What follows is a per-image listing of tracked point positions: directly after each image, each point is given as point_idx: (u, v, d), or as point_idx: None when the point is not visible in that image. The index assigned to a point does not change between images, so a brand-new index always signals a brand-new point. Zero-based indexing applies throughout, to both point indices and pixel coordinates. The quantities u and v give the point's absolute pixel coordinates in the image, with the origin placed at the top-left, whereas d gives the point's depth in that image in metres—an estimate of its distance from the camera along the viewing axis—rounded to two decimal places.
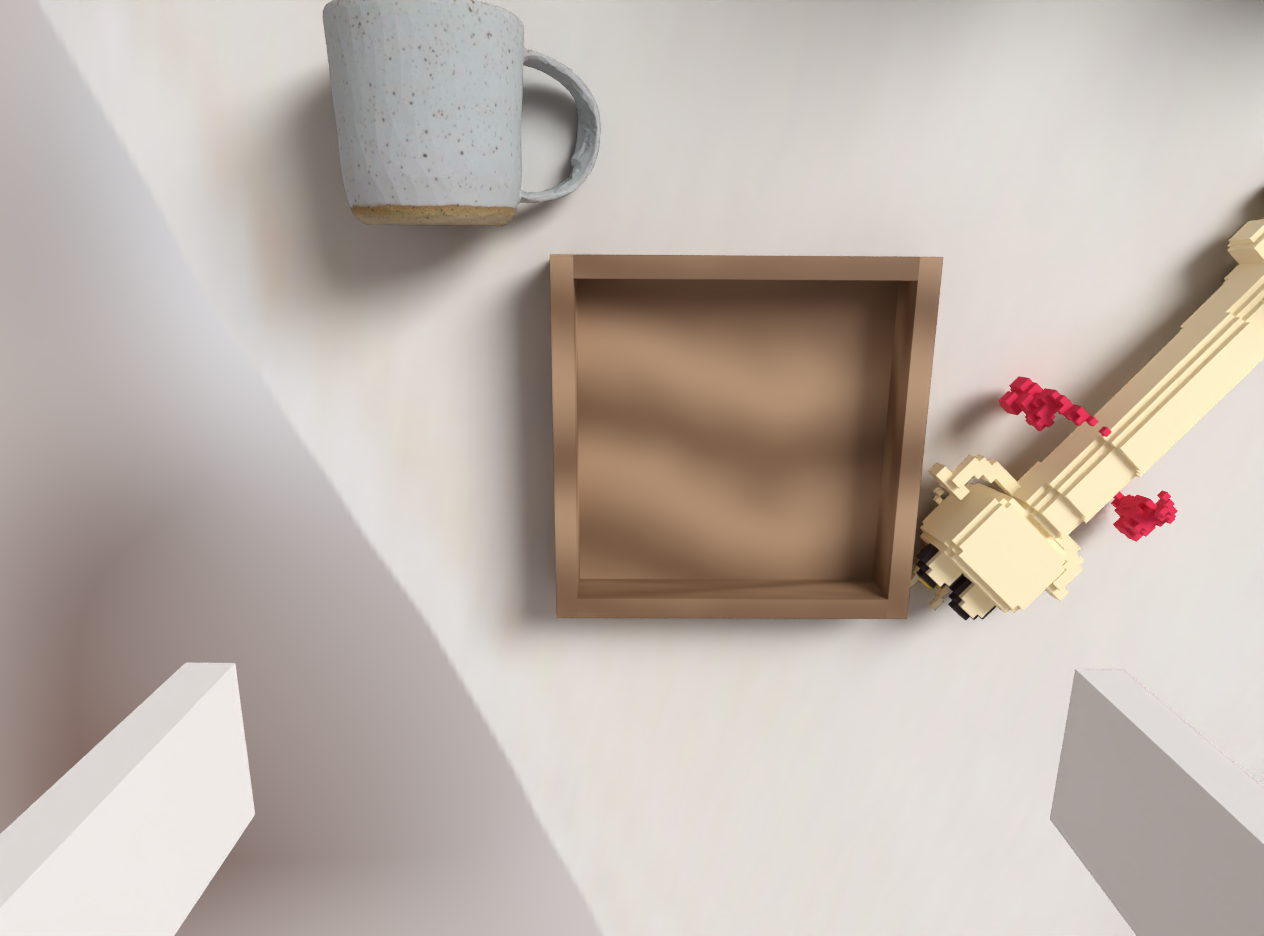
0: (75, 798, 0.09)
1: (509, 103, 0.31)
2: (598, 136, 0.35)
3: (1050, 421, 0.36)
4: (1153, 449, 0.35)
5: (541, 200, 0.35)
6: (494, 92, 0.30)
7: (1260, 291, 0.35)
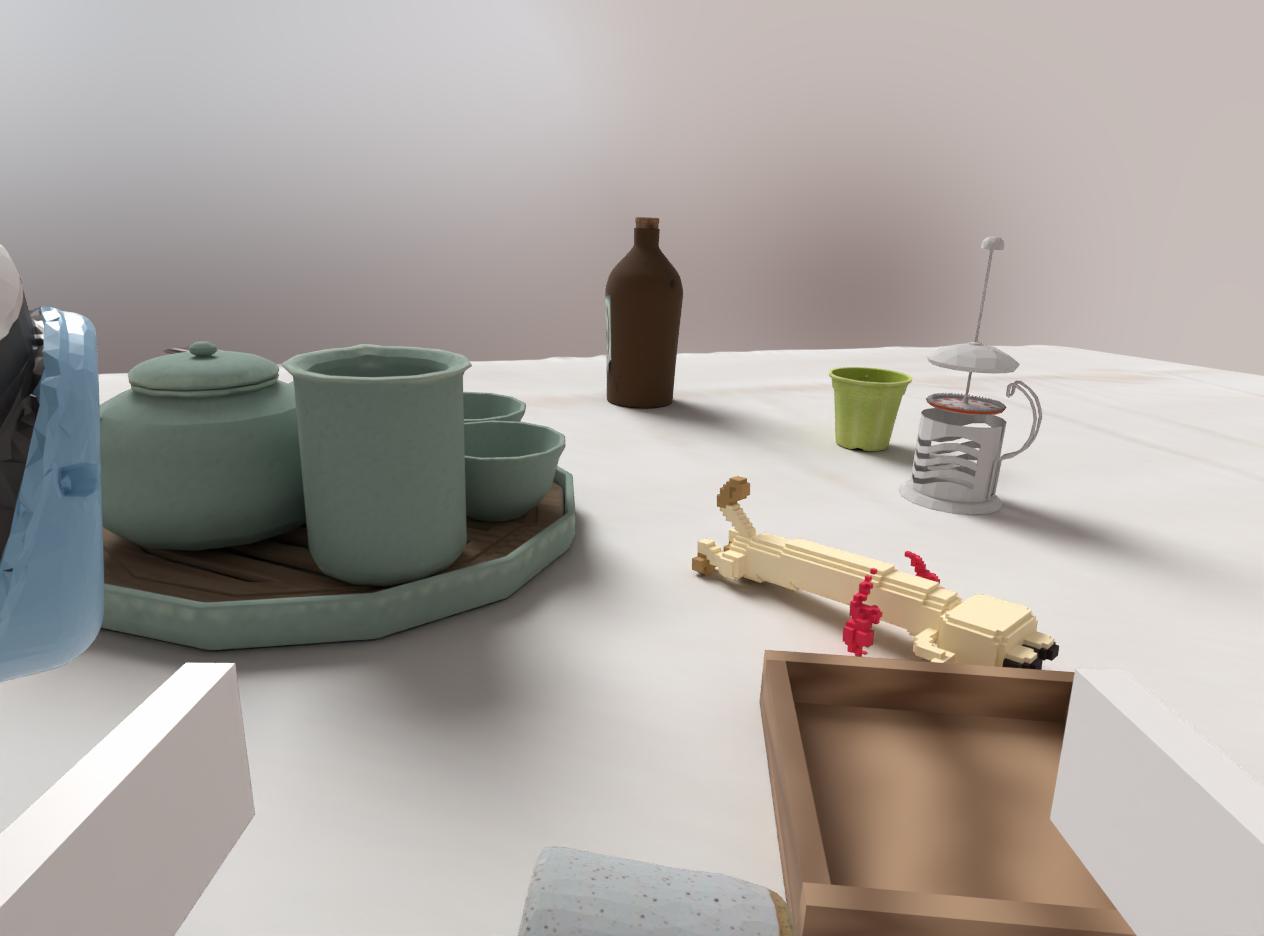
0: (75, 798, 0.09)
1: None
2: None
3: (873, 605, 0.49)
4: (877, 562, 0.52)
5: None
6: None
7: (765, 547, 0.57)
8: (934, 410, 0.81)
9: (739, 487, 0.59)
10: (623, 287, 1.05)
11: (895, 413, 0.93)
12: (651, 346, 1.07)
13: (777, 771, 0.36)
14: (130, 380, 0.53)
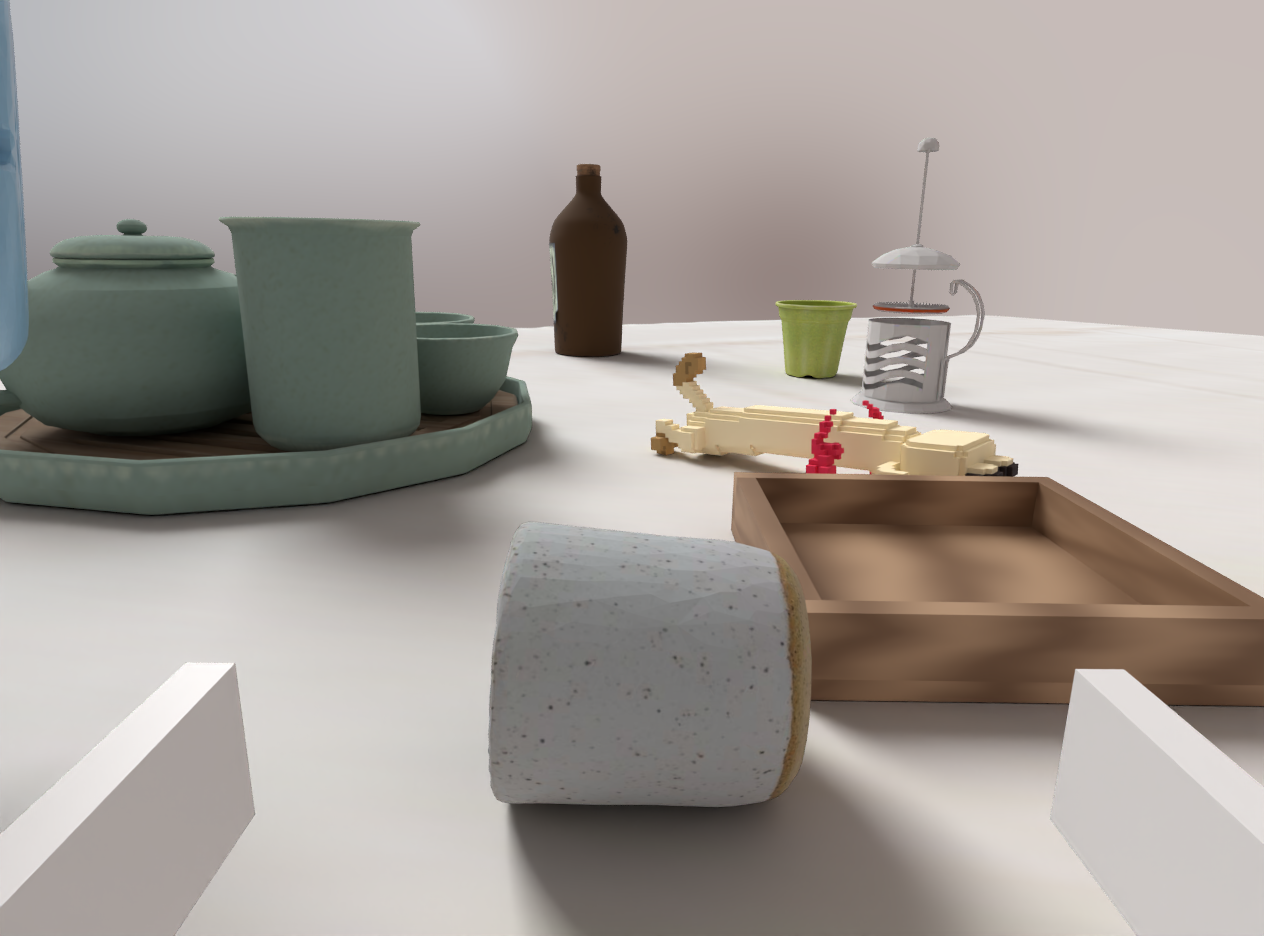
0: (75, 798, 0.09)
1: None
2: None
3: (835, 442, 0.48)
4: (836, 412, 0.52)
5: None
6: None
7: (723, 416, 0.57)
8: (881, 320, 0.82)
9: (695, 360, 0.58)
10: (567, 233, 1.05)
11: (842, 339, 0.94)
12: (598, 292, 1.07)
13: None
14: (52, 252, 0.50)
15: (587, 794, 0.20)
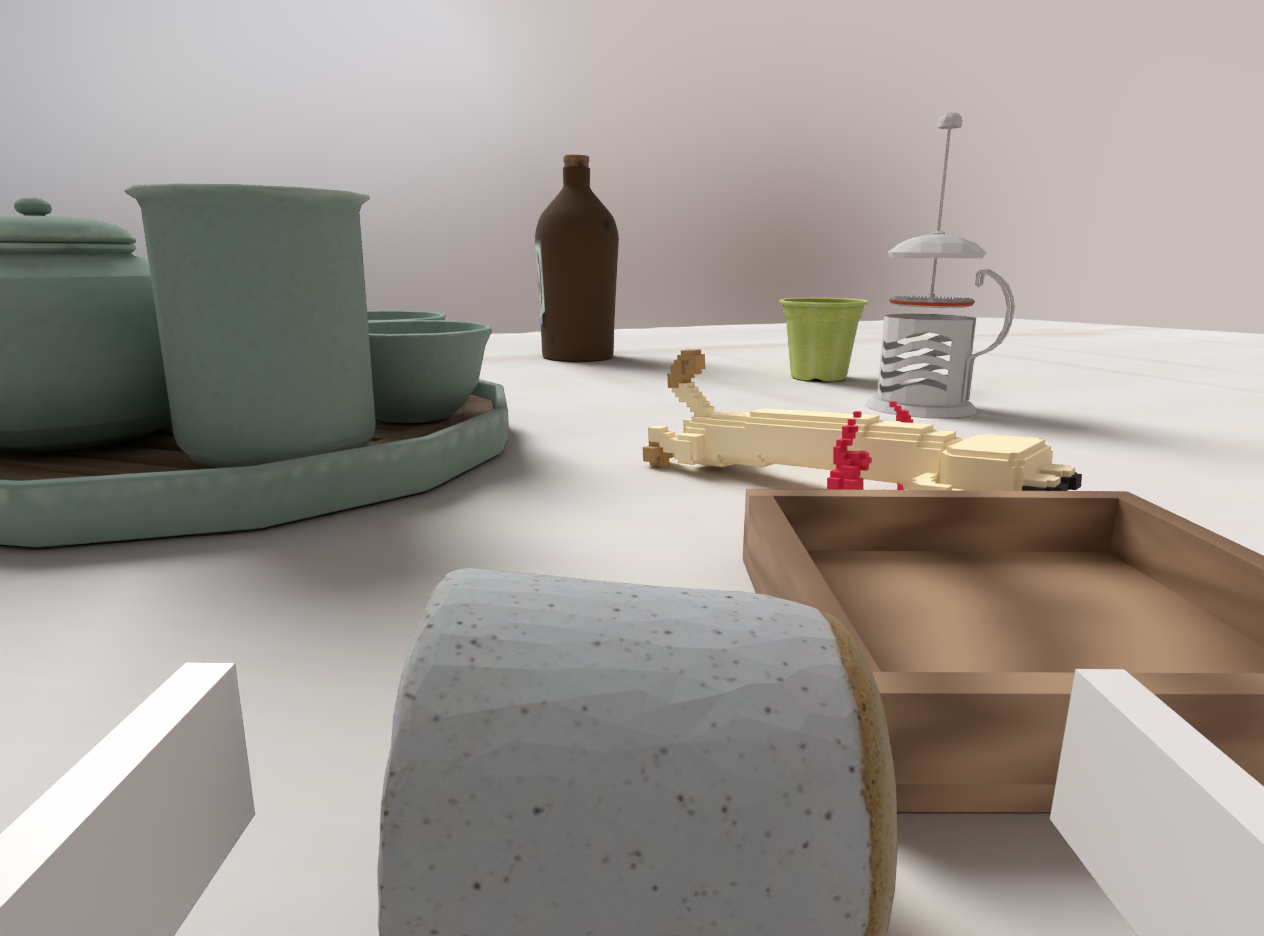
0: (75, 798, 0.09)
1: None
2: None
3: (861, 450, 0.41)
4: None
5: None
6: None
7: (726, 421, 0.49)
8: (897, 317, 0.74)
9: (692, 358, 0.51)
10: (553, 228, 0.97)
11: (852, 339, 0.87)
12: (587, 292, 0.99)
13: (779, 596, 0.28)
14: None
15: None
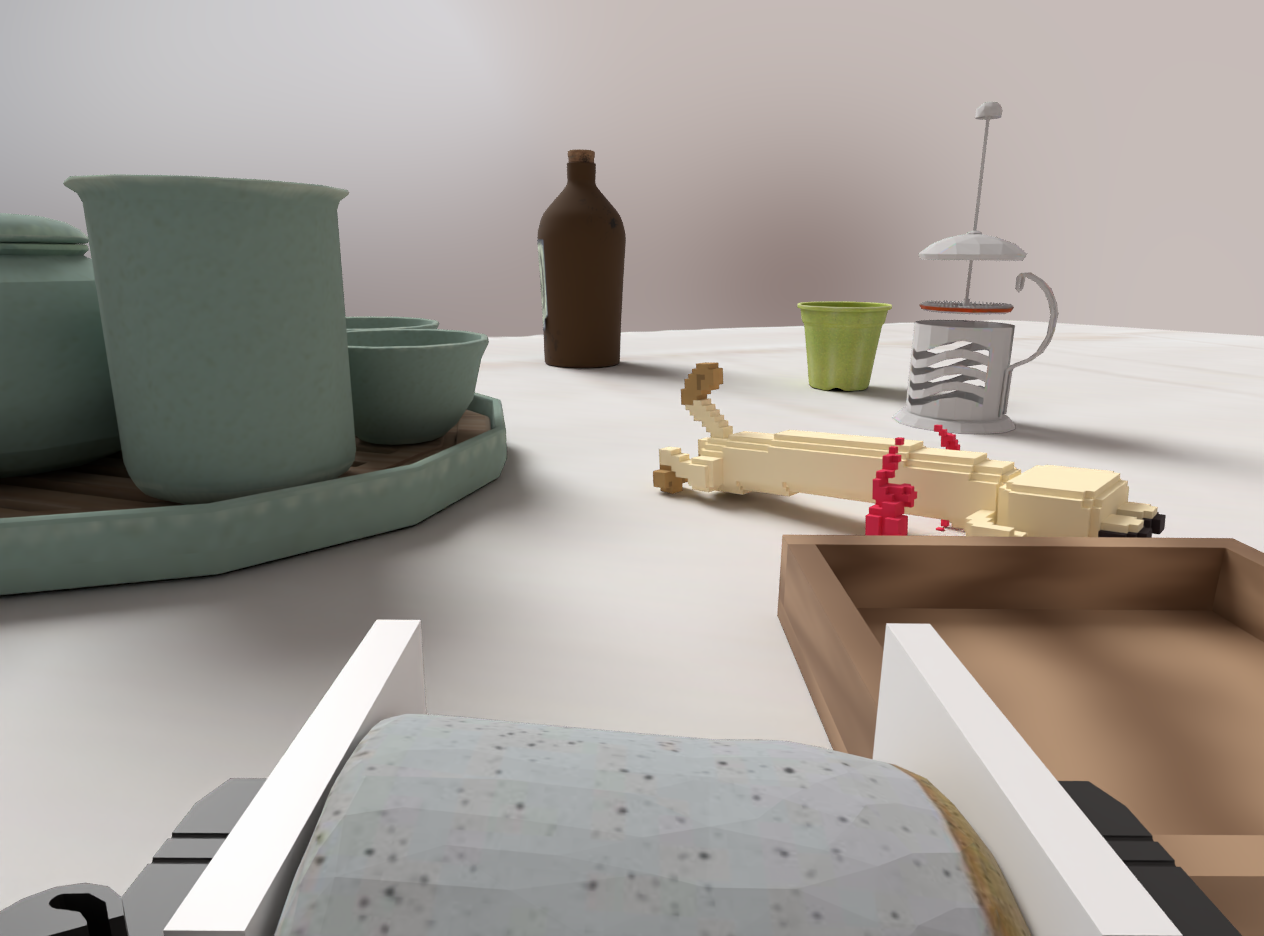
0: (336, 723, 0.11)
1: None
2: None
3: (904, 484, 0.35)
4: None
5: None
6: None
7: (747, 444, 0.44)
8: (927, 323, 0.69)
9: (709, 373, 0.45)
10: (557, 228, 0.92)
11: (875, 345, 0.81)
12: (593, 295, 0.94)
13: (834, 683, 0.22)
14: None
15: None
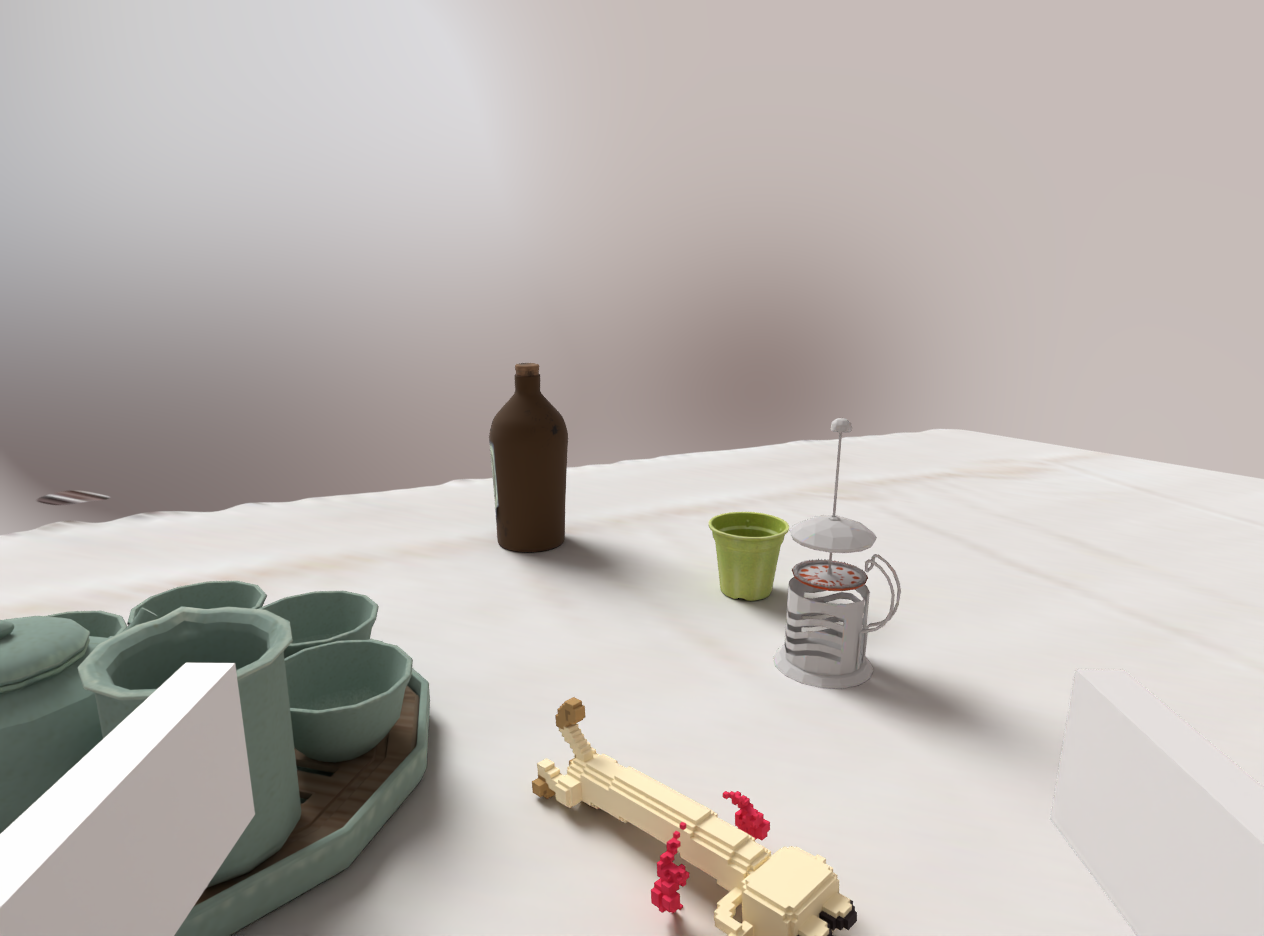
0: (75, 798, 0.09)
1: None
2: None
3: (680, 866, 0.48)
4: (695, 806, 0.52)
5: None
6: None
7: (596, 777, 0.57)
8: None
9: (573, 712, 0.59)
10: (504, 436, 1.05)
11: (775, 562, 0.94)
12: (537, 492, 1.06)
13: None
14: None
15: None
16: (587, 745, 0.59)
